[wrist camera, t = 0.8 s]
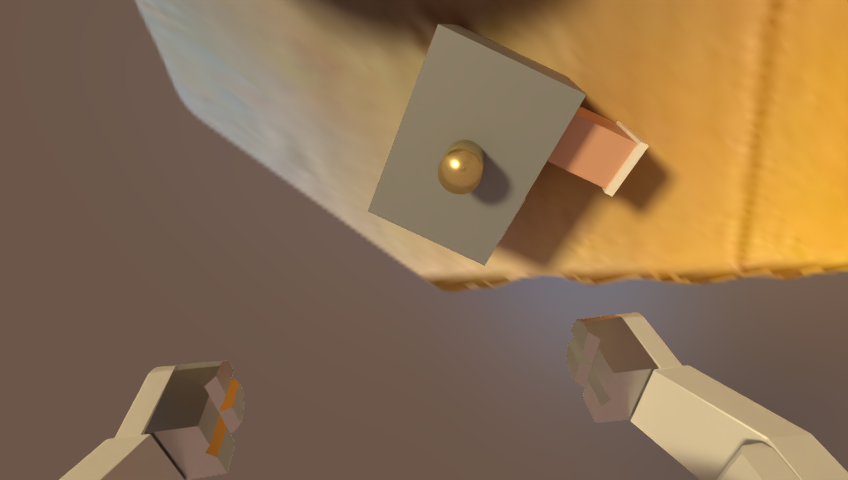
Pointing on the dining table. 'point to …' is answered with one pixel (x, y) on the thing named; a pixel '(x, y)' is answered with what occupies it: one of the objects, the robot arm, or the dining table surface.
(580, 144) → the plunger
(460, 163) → the brass dial
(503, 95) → the grey cabinet
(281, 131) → the dining table surface
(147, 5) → the dining table surface
